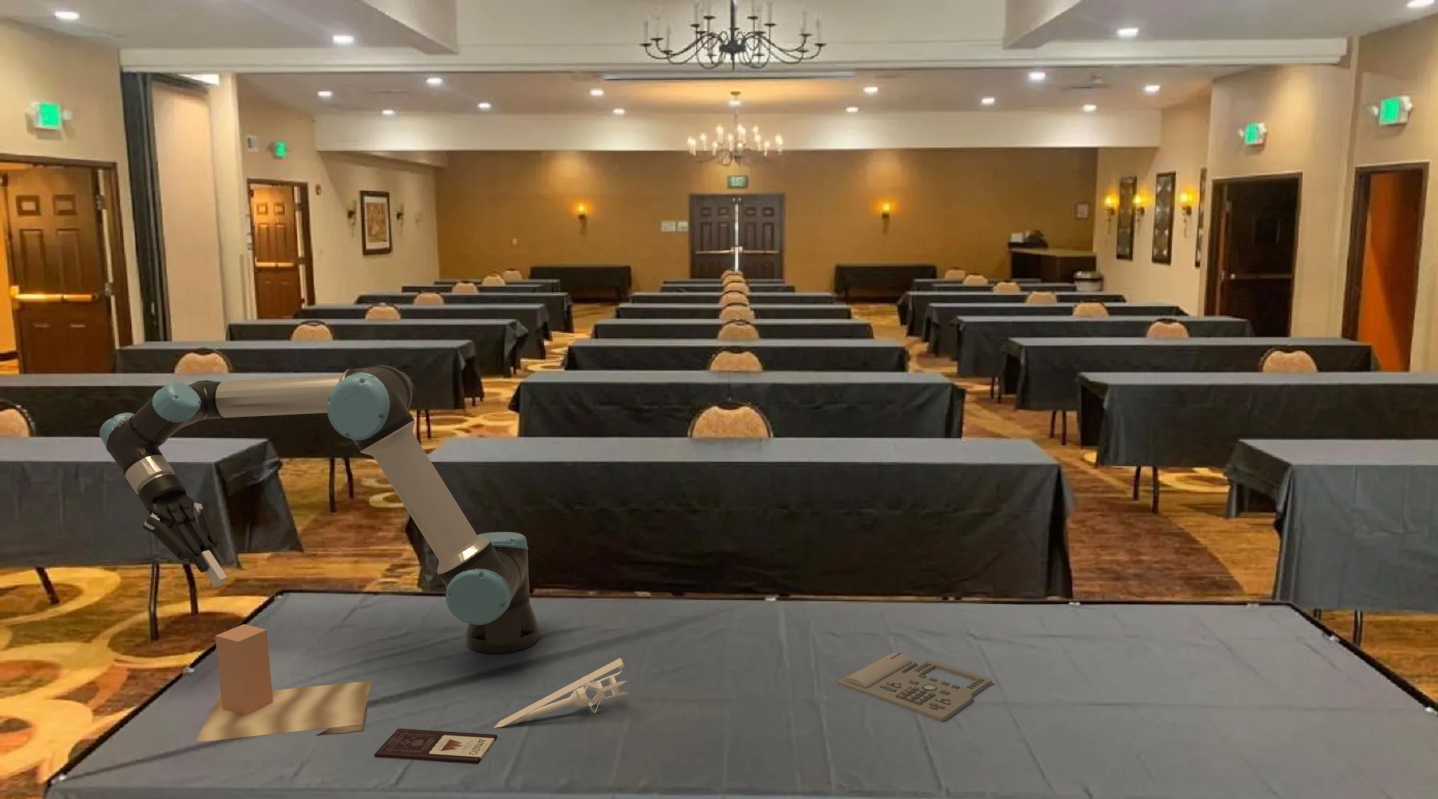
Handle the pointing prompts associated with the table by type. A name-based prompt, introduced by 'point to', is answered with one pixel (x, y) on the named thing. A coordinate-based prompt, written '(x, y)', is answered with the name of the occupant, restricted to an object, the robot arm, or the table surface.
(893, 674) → the office telephone
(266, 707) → the birch board
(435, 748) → the chocolate bar
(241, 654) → the terracotta block
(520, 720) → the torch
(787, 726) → the table surface
